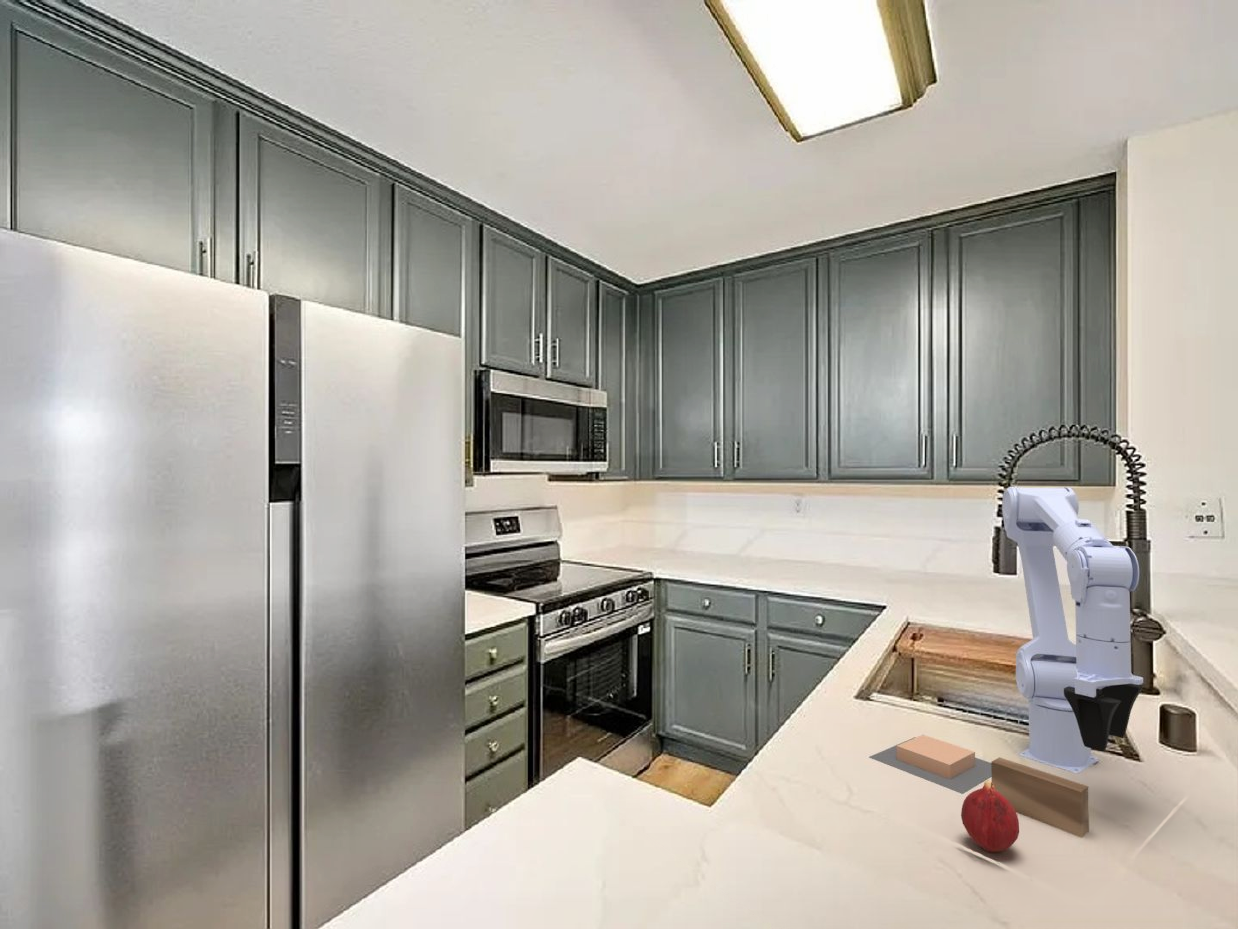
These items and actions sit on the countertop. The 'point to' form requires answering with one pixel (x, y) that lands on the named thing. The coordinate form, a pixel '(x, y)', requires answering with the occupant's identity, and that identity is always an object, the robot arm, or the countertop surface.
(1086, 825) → the wooden plank piece
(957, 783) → the mat
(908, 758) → the tile
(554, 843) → the countertop surface
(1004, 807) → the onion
